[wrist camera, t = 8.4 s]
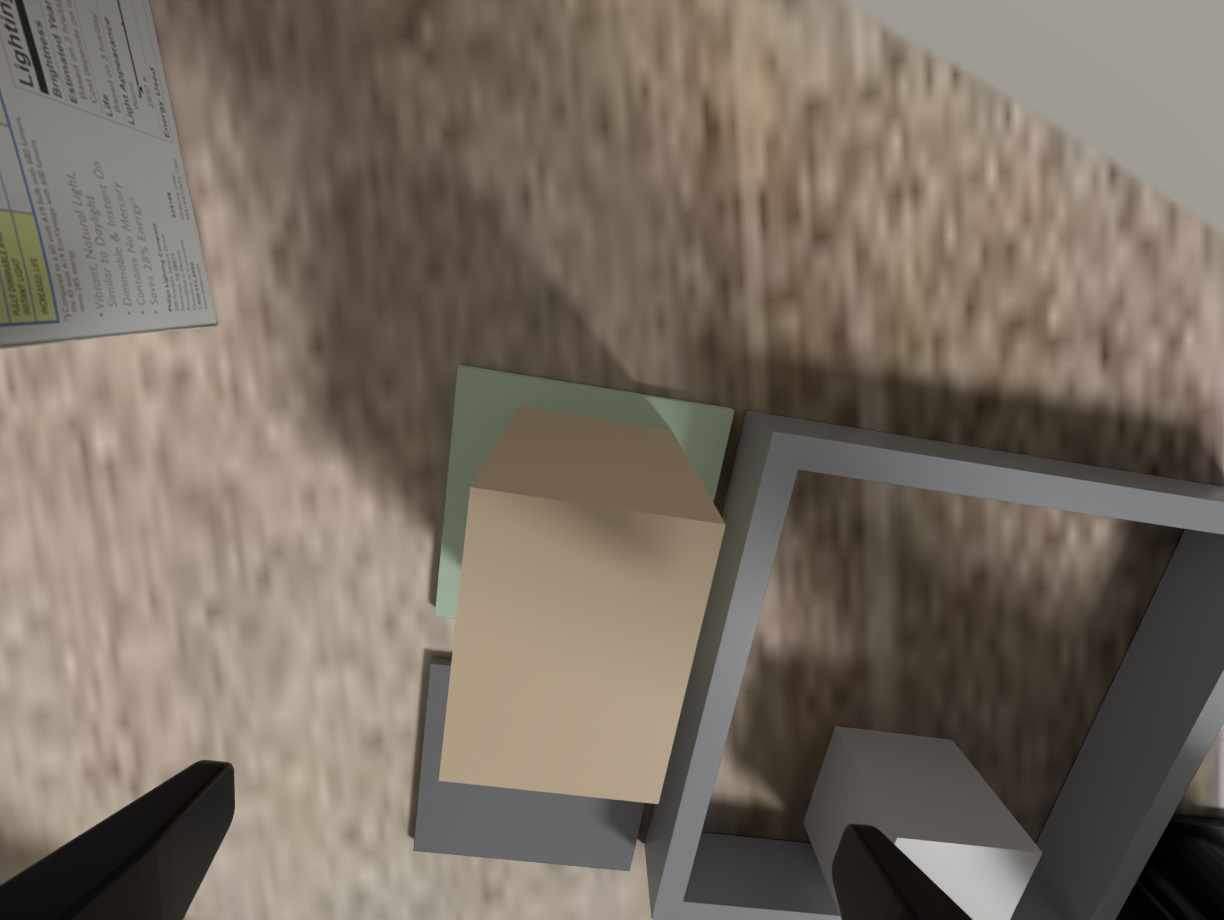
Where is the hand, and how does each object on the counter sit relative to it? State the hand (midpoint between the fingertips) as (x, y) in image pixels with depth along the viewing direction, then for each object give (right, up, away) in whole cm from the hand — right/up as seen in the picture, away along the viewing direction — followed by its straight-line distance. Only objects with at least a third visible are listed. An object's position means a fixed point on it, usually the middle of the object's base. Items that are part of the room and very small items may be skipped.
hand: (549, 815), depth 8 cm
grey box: (+12, -8, +16) cm, 21 cm away
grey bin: (+13, -3, +14) cm, 19 cm away
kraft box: (0, +3, +11) cm, 12 cm away
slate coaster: (-2, -7, +15) cm, 16 cm away
